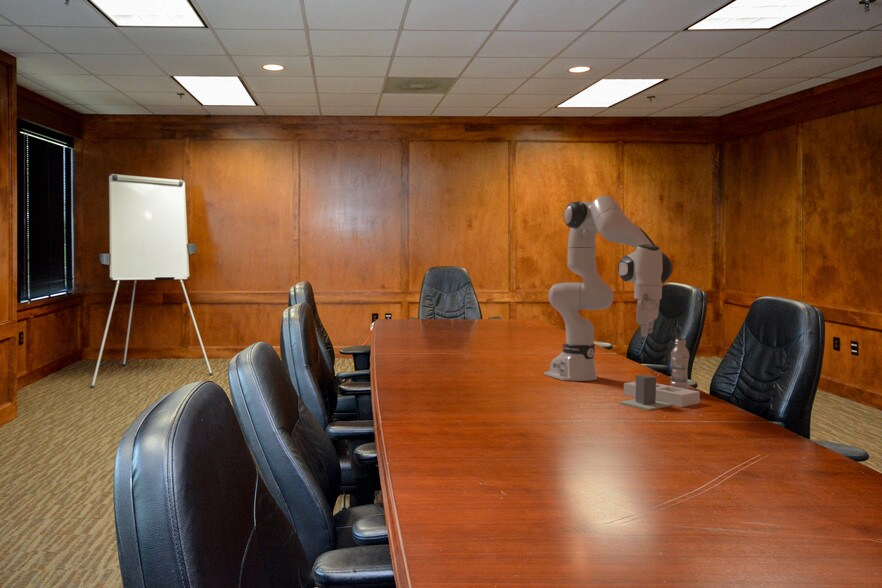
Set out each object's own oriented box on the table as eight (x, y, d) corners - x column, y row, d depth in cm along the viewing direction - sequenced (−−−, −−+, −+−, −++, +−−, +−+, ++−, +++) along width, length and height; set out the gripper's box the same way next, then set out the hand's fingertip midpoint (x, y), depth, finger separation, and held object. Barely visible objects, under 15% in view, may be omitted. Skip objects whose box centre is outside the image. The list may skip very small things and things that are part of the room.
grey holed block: (623, 394, 239) (623, 382, 238) (641, 391, 244) (641, 379, 244) (681, 407, 219) (681, 394, 219) (699, 403, 225) (699, 390, 224)
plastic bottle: (685, 392, 242) (687, 338, 241) (690, 396, 236) (692, 340, 235) (667, 392, 243) (668, 338, 242) (672, 396, 236) (673, 340, 235)
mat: (619, 403, 224) (619, 401, 224) (642, 399, 231) (642, 397, 231) (648, 410, 214) (648, 408, 214) (671, 405, 221) (671, 404, 221)
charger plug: (635, 401, 224) (635, 375, 224) (647, 400, 225) (647, 374, 225) (643, 404, 219) (644, 377, 219) (655, 404, 221) (656, 377, 220)
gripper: (652, 295, 209) (651, 339, 210) (662, 292, 228) (661, 332, 229) (632, 295, 212) (631, 337, 213) (643, 291, 231) (642, 330, 231)
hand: (646, 334), depth 221 cm, fingers open, 8 cm apart
